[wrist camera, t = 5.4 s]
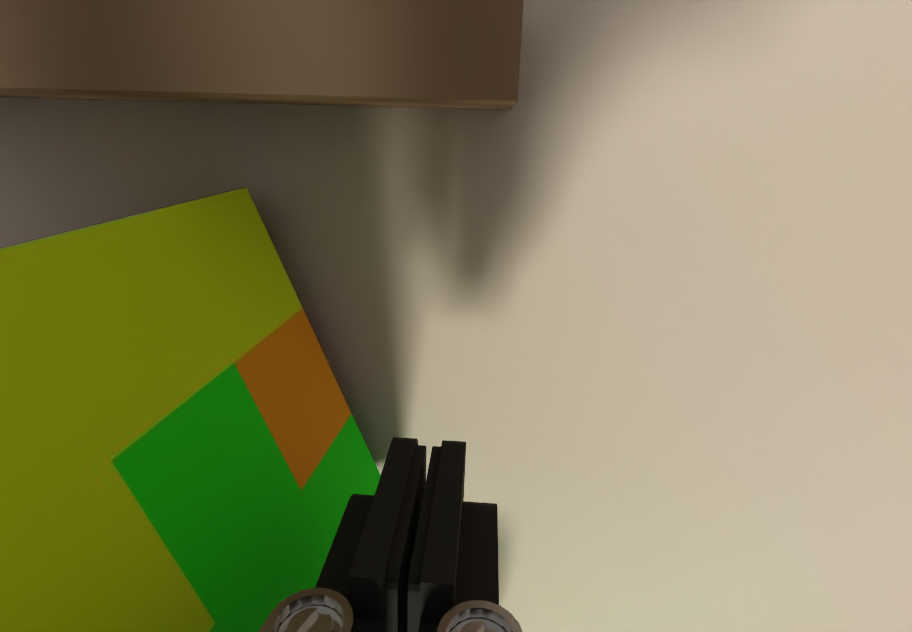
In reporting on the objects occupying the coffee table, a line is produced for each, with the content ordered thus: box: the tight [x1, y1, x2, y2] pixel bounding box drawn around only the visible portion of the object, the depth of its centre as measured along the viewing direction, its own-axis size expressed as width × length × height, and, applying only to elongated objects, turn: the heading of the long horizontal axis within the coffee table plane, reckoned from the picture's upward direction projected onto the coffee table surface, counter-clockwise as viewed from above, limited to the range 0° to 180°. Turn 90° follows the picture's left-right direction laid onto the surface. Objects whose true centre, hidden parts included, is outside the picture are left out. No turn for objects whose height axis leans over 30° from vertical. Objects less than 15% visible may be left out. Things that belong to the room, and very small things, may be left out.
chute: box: [0, 0, 523, 110], centre depth 14 cm, size 15×21×4 cm
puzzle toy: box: [0, 187, 381, 632], centre depth 11 cm, size 10×10×10 cm
